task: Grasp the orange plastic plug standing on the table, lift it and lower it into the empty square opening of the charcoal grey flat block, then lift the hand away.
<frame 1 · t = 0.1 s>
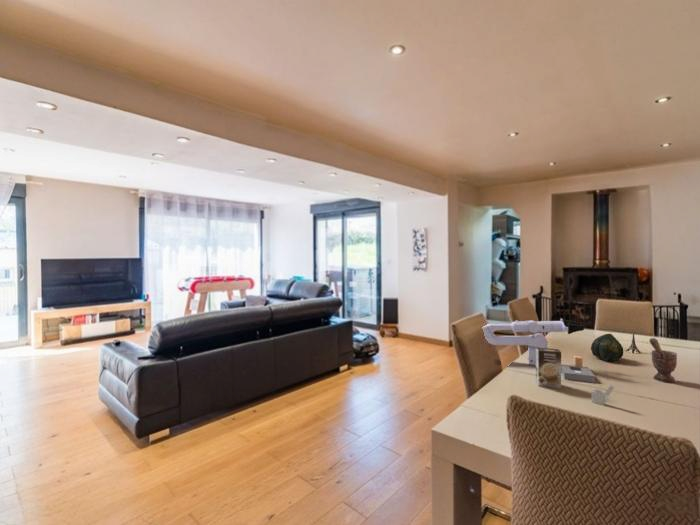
hand: (582, 326, 177), 22 cm above the table, tool horizontal, fingers open, 7 cm apart
squash: (606, 359, 192), on the table
mortar and pestle: (662, 381, 158), on the table
grey flat block: (576, 376, 166), on the table
coffee box: (548, 385, 155), on the table
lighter: (603, 404, 134), on the table
eiffel tower figurine: (634, 353, 206), on the table
plug: (578, 368, 177), on the table
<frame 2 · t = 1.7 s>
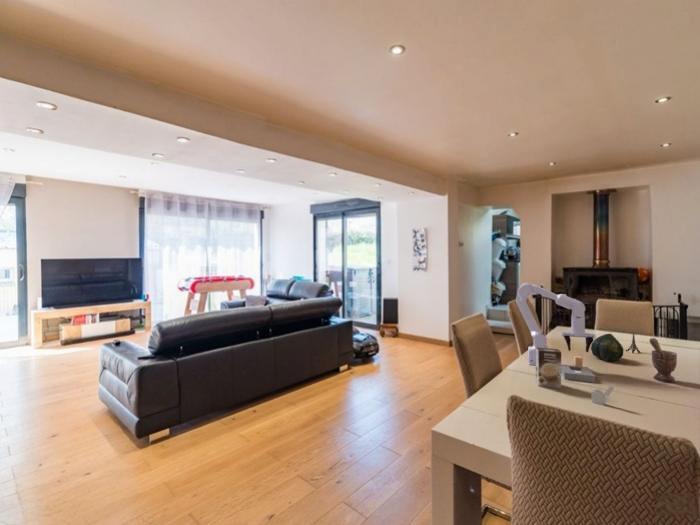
hand: (578, 351, 176), 9 cm above the table, tool pointing down, fingers open, 7 cm apart
nothing on the table moved.
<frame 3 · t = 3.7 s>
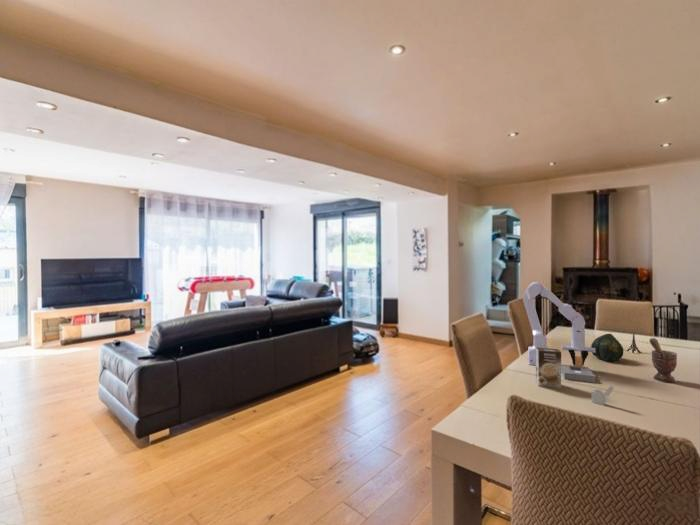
hand: (578, 365, 177), 2 cm above the table, tool pointing down, fingers closed on plug, 3 cm apart
plug: (578, 368, 177), on the table, touching gripper
everything else where it was.
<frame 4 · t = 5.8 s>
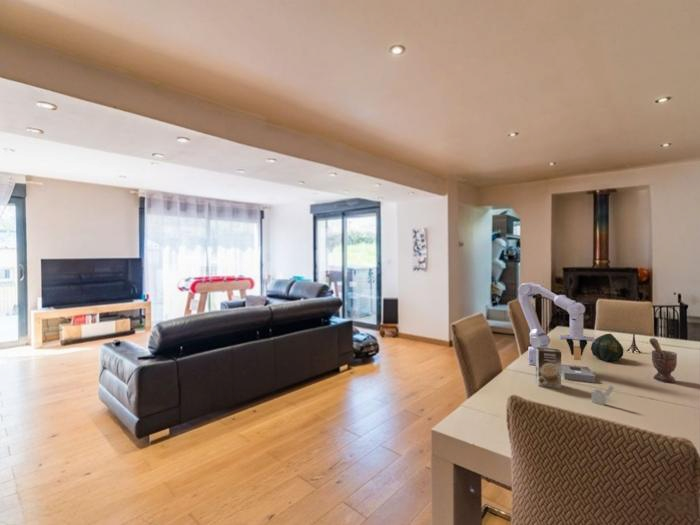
hand: (576, 354, 170), 9 cm above the table, tool pointing down, fingers closed on plug, 3 cm apart
plug: (576, 359, 171), point 7 cm above the table, touching gripper
everything else where it was.
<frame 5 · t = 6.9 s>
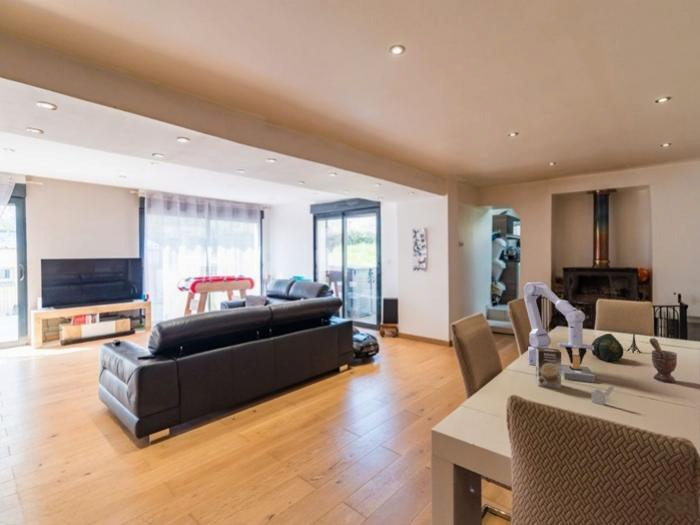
hand: (575, 363, 168), 6 cm above the table, tool pointing down, fingers closed on plug, 3 cm apart
plug: (575, 367, 168), point 3 cm above the table, touching gripper
everything else where it was.
when the fingers open (4 cm above the table, at t = 8.0 s): plug drops 1 cm, resting on grey flat block.
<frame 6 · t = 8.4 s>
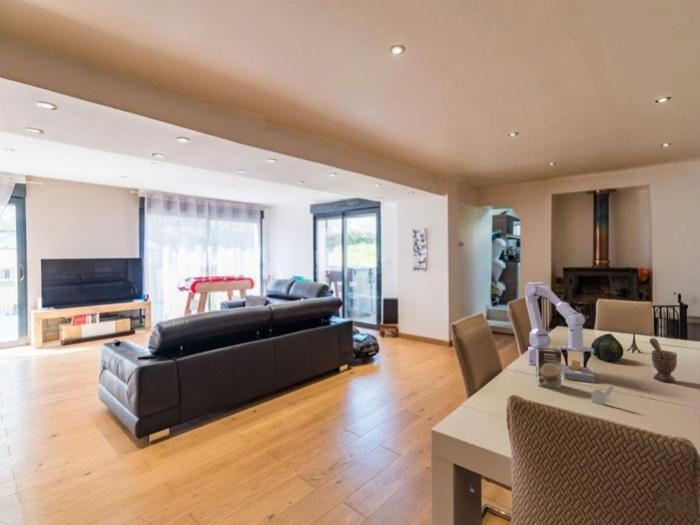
hand: (575, 366, 168), 4 cm above the table, tool pointing down, fingers open, 7 cm apart
plug: (575, 372, 168), point 1 cm above the table, touching grey flat block
everything else where it was.
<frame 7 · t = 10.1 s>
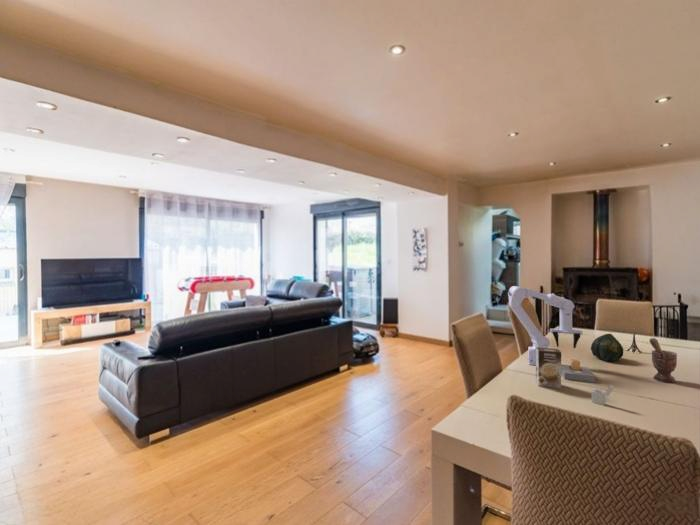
hand: (566, 347, 183), 9 cm above the table, tool pointing down, fingers open, 7 cm apart
nothing on the table moved.
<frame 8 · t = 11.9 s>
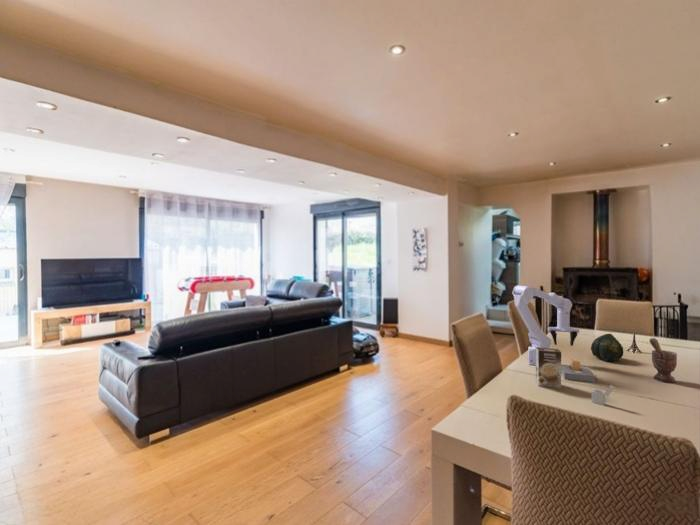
hand: (563, 345, 188), 9 cm above the table, tool pointing down, fingers open, 7 cm apart
at the end: plug 0.2 cm from the target spot on the grey flat block, point 1.0 cm above the grey flat block's base; plug tilted 0°; the gripper is holding nothing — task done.
